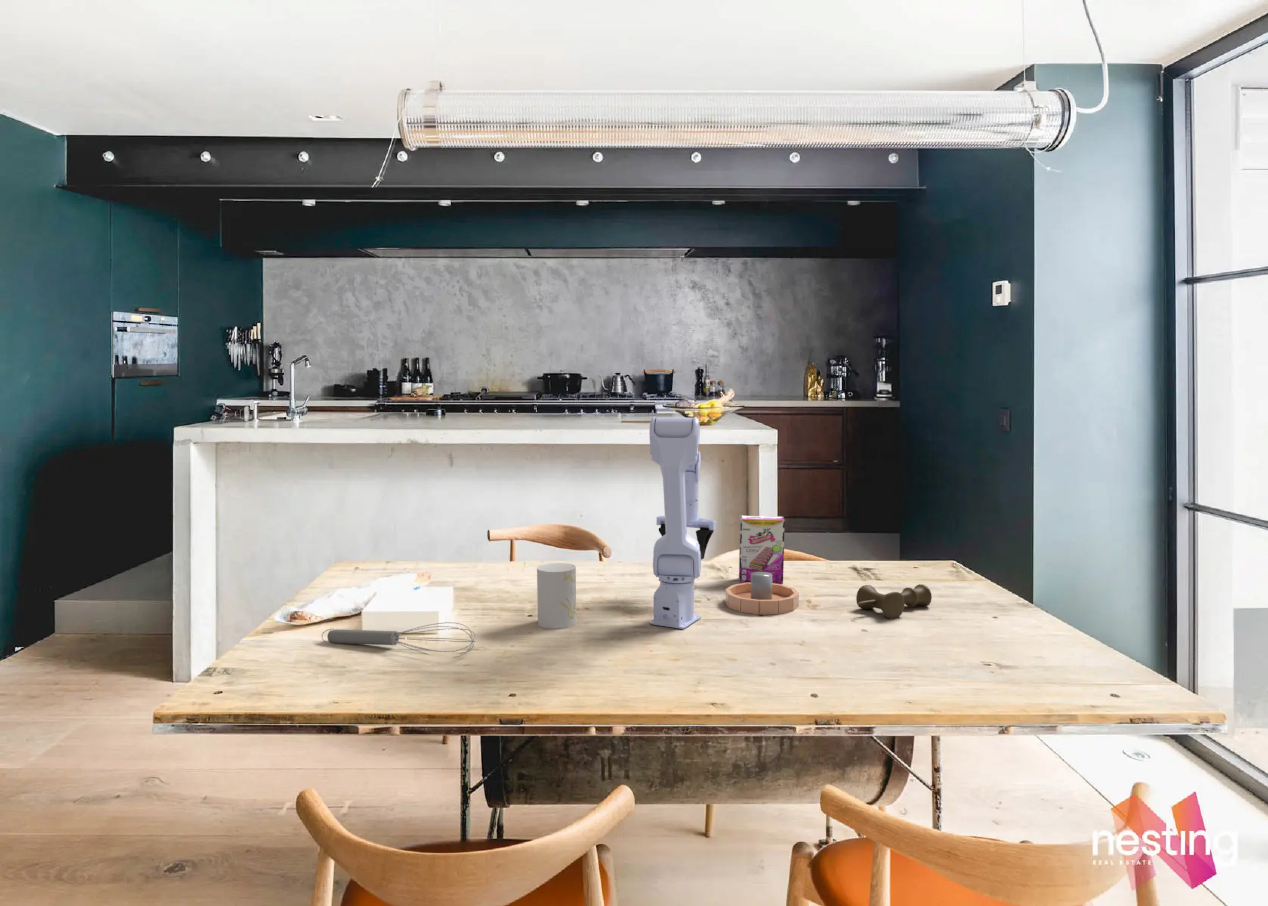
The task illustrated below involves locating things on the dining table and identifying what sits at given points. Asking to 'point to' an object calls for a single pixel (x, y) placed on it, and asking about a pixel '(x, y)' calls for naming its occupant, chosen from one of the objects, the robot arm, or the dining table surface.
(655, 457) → the robot arm
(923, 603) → the kendama
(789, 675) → the dining table surface
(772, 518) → the candy bar box
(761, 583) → the grey cylinder
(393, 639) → the kitchen whisk
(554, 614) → the white cylinder
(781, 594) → the bowl
